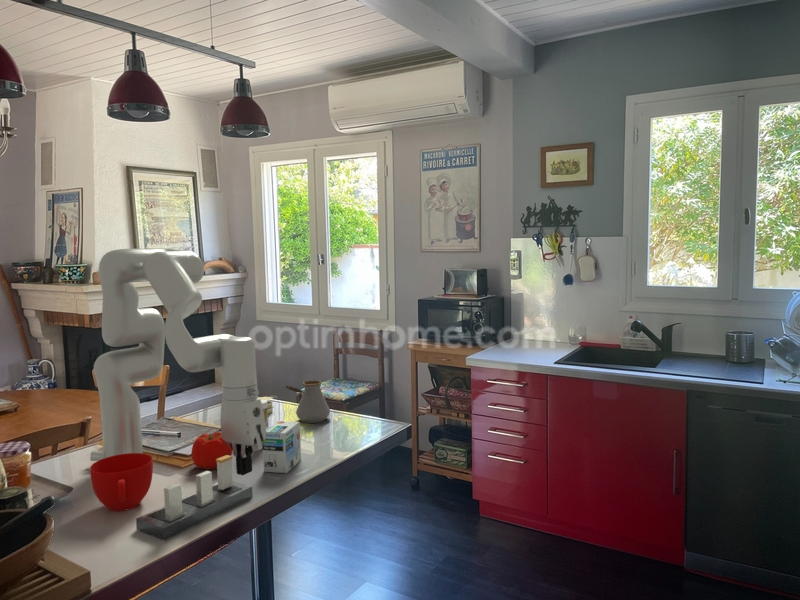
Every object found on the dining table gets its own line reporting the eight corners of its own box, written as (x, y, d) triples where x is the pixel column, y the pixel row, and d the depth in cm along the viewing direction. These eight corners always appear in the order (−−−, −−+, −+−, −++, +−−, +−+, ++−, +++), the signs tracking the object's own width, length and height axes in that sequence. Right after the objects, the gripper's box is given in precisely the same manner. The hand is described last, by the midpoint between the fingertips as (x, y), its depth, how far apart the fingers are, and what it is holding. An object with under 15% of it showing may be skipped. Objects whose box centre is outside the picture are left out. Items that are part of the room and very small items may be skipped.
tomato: (241, 463, 162) (240, 432, 161) (208, 476, 152) (207, 443, 152) (215, 456, 167) (214, 426, 167) (182, 469, 158) (180, 437, 158)
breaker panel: (164, 540, 119) (162, 495, 118) (136, 530, 124) (134, 486, 123) (252, 496, 139) (251, 458, 139) (225, 489, 144) (224, 451, 143)
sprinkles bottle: (269, 447, 174) (267, 402, 173) (253, 449, 173) (251, 403, 172) (269, 443, 178) (267, 398, 177) (253, 444, 177) (251, 400, 176)
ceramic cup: (89, 530, 124) (86, 483, 123) (94, 499, 140) (91, 458, 139) (156, 518, 129) (153, 473, 128) (154, 489, 145) (152, 449, 144)
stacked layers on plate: (261, 409, 217) (260, 394, 217) (281, 412, 214) (281, 397, 213) (243, 417, 208) (243, 401, 208) (264, 419, 204) (264, 403, 204)
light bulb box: (287, 474, 153) (285, 433, 153) (262, 472, 155) (261, 431, 154) (301, 459, 164) (300, 421, 163) (279, 458, 165) (277, 420, 164)
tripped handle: (222, 490, 136) (221, 460, 136) (217, 488, 137) (216, 459, 137) (233, 485, 139) (232, 456, 138) (228, 483, 140) (226, 454, 139)
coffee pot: (307, 413, 209) (306, 371, 208) (336, 417, 205) (335, 374, 203) (271, 431, 190) (270, 385, 188) (302, 435, 185) (301, 387, 184)
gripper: (276, 392, 132) (280, 472, 134) (229, 386, 140) (233, 462, 141) (251, 399, 126) (256, 484, 127) (203, 393, 134) (208, 473, 135)
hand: (244, 472), depth 134 cm, fingers closed
